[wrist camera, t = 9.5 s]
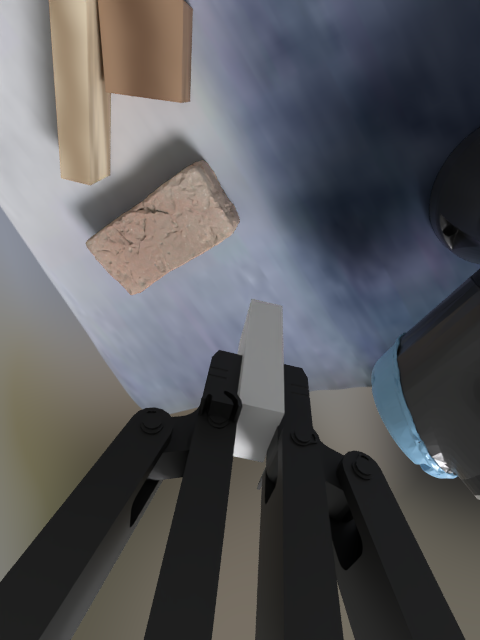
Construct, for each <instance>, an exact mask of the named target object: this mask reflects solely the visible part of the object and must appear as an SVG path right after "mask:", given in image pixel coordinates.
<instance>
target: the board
mask: <svg viewBox="0 0 480 640" xmlns="http://www.w3.org/2000/svg"><path fill="white" fill-rule="evenodd" d="M49 12H50V26H51V41H52V55H53V70H54V84H55V98H56V113H57V127H58V141H59V156H60V170H61V178H63V179H67V180H71V181H75V182H79V183H83V184H87V185H92V184H94V183H96V182H98V181H100V180H102V179H104V178H106V177H108V176H109V175H110V127H111V93H108V92H106V91H105V79H104V67H103V55H102V43H101V31H100V19H99V8H98V0H49Z"/></svg>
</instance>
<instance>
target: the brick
mask: <svg viewBox="0 0 480 640" xmlns="http://www.w3.org/2000/svg"><path fill="white" fill-rule="evenodd" d="M239 222H240V219H239V216H238V213H237V212H236V208H235V206H234V204H232V203H231V201H229V199H228V197H227V196H226V194H225V193H224V190H223V189H222V188H221V187H220V183H219V181H218V180H217V177H216V175H215V173H214V171H213V170H212V169H211V167H210V166H209V164H208V163H207V162H205V161H204V160H201V161H199V162H195V163H193V164H192V165H190V166H188V167H186V168H185V169H183V170H182V171H181V172H179V173H178V174H177V175H175V176H174V177H173V178H171V179H170V180H168V181H167V182H165V183H164V184H162V185H161V186H160V187H159V188H157V189H156V190H155V191H154V192H153V193H151V194H149V195H148V197H147V198H146V199H145V200H143V201H142V202H140V203H139V204H138V205H136V206H134V207H133V208H131V209H130V210H129V211H127V212H125V213H123V214H122V215H121V216H119V217H118V218H117V219H115V220H114V221H113V222H111V223H110V224H108V225H107V226H106V227H104V228H103V229H102V230H100V231H99V232H98V233H96V234H95V235H93V236H92V237H91V238H90V239H88V240H87V242H86V246H87V248H88V249H89V250H90V252H91V253H92V254H93V255H94V256H95V259H96V260H97V261H98V262H99V263H100V264H101V265H102V266H103V267H104V268H105V269H106V271H107V272H108V273H109V274H110V275H111V276H112V277H113V278H114V279H116V280H117V281H118V282H119V283H120V284H121V285H122V286H123V287H124V288H125V289H126V290H127V292H128V293H129V294H130V295H134V294H137V293H141V292H142V291H144V290H145V289H146V288H148V287H149V286H150V285H151V284H153V283H154V282H156V281H157V280H159V279H160V278H161V277H163V276H164V275H165V274H167V273H168V272H170V271H172V270H174V269H176V268H178V267H180V266H182V265H183V264H185V263H187V262H188V261H190V260H192V259H194V258H195V257H197V256H199V255H201V254H203V253H204V252H205V251H207V250H209V249H211V248H212V247H214V246H215V245H218V244H219V243H221V242H222V241H223V240H224V239H226V238H228V237H229V236H230V235H231V234H233V233H234V231H235V230H236V227H237V225H238V224H239Z"/></svg>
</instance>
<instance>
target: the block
mask: <svg viewBox="0 0 480 640" xmlns="http://www.w3.org/2000/svg"><path fill="white" fill-rule="evenodd" d="M98 8H99V19H100V31H101V43H102V55H103V67H104V79H105V91H106V92H108V93H115V94H122V95H129V96H137V97H144V98H151V99H158V100H165V101H172V102H180V103H183V102H190V86H191V51H192V16H193V9H192V8H191V7H190V6H189V5H188V4H187V3H186V2H185V1H184V0H98Z"/></svg>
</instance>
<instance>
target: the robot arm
mask: <svg viewBox="0 0 480 640" xmlns="http://www.w3.org/2000/svg"><path fill="white" fill-rule="evenodd" d="M429 214H430V221H431V225H432V228H433V230H434V232H435V234H436V236H437V237H438V239H439V240H440V241H441V242H442V243H443V244H444V245H445V246H446V247H447V248H448V249H449V250H450V251H451V252H453V253H454V254H455V255H457V256H459V257H460V258H462V259H464V260H467V261H469V262H472V263H476V264H480V127H479V128H478V129H477V130H475V131H474V132H473V133H471V134H470V135H469V136H468V137H467V138H466V139H464V140H463V141H462V142H461V143H460V144H459V145H458V146H457V148H456V149H455V150H454V151H453V152H452V153H451V155H450V156H449V157H448V159H447V160H446V161H445V163H444V165H443V166H442V168H441V170H440V172H439V173H438V176H437V178H436V180H435V182H434V185H433V188H432V192H431V196H430V204H429ZM371 382H372V386H373V387H372V392H373V397H374V401H375V404H376V407H377V409H378V412H379V414H380V416H381V418H382V420H383V422H384V424H385V426H386V428H387V429H388V431H389V433H390V434H391V436H392V438H393V439H394V440H395V442H396V443H397V445H398V446H399V447H400V448H401V450H402V451H403V452H404V453H405V454H406V455H407V456H408V458H410V459H411V460H412V461H413V462H414V463H415V464H420V466H421V467H422V469H423V471H425V472H426V473H428V474H430V475H432V476H434V477H437V478H455V477H457V476H459V477H460V478H461V480H462V481H463V482H464V483H465V484H466V486H467V487H468V488H469V489H470V491H471V492H472V493H473V494H474V495H475V497H476V498H478V499H479V500H480V269H479V270H478V271H477V272H476V273H474V274H473V275H472V276H471V277H469V278H468V279H467V280H466V281H465V282H464V283H463V284H462V285H461V286H460V287H458V288H457V289H456V290H455V291H454V292H453V293H452V294H450V295H449V296H448V297H447V298H446V299H445V300H444V301H442V302H441V303H440V304H439V305H438V306H437V307H436V308H434V309H433V310H432V311H431V312H430V313H429V314H428V315H426V316H425V317H424V318H423V319H422V320H421V321H420V322H418V323H417V324H416V325H415V326H414V327H413V328H412V329H410V330H409V331H408V332H407V333H403V334H401V335H400V336H399V337H398V338H397V340H396V342H395V344H394V345H393V346H392V347H391V348H390V349H389V350H388V351H387V352H386V353H385V354H384V355H383V356H382V357H381V358H380V359H379V360H378V361H377V362H376V364H375V366H374V368H373V371H372V380H371ZM308 388H309V387H308V378H307V376H306V374H305V373H304V371H303V369H302V368H299V367H294V366H290V365H286V364H284V362H283V313H282V306H280V305H276V304H272V303H267V302H263V301H259V300H255V299H251V303H250V307H249V310H248V314H247V317H246V321H245V325H244V328H243V332H242V335H241V339H240V343H239V349H238V354H234V353H230V352H225V351H221V350H219V351H218V352H217V353H216V354H215V355H214V356H213V357H212V360H211V364H210V368H209V372H208V376H207V380H206V384H205V388H204V392H203V396H202V399H201V403H200V406H199V407H198V409H197V410H196V411H194V412H193V413H191V414H189V415H186V416H180V417H171V416H170V415H169V413H167V412H166V411H164V410H163V409H159V408H145V409H143V410H140V411H138V412H137V413H136V414H135V415H134V416H133V417H132V418H131V419H130V421H129V422H128V423H127V424H126V426H125V427H124V428H123V429H122V431H121V432H120V433H119V434H118V436H117V437H116V438H115V439H114V441H113V442H112V443H111V444H110V446H109V447H108V448H107V449H106V451H105V452H104V453H103V454H102V456H101V457H100V458H99V459H98V461H97V462H96V463H95V464H94V466H93V467H92V468H91V469H90V471H89V472H88V473H87V474H86V476H85V477H84V478H83V479H82V481H81V482H80V483H79V484H78V486H77V487H76V488H75V489H74V491H73V492H72V493H71V494H70V496H69V497H68V498H67V499H66V501H65V502H64V503H63V504H62V506H61V507H60V508H59V510H58V511H57V512H56V513H55V514H54V516H53V517H52V518H51V519H50V521H49V522H48V523H47V524H46V526H45V527H44V528H43V529H42V531H41V532H40V533H39V534H38V536H37V537H36V538H35V539H34V541H33V542H32V543H31V545H30V546H29V547H28V548H27V549H26V551H25V552H24V553H23V554H22V556H21V557H20V558H19V559H18V561H17V562H16V563H15V564H14V566H13V567H12V568H11V569H10V571H9V572H8V573H7V574H6V576H5V577H4V578H3V579H2V581H1V582H0V640H71V638H72V636H73V635H74V633H75V631H76V630H77V628H78V626H79V624H80V623H81V621H82V619H83V618H84V616H85V614H86V612H87V611H88V609H89V607H90V605H91V604H92V602H93V600H94V598H95V597H96V595H97V593H98V592H99V590H100V588H101V586H102V585H103V583H104V581H105V579H106V578H107V576H108V574H109V572H110V571H111V569H112V567H113V565H114V564H115V562H116V560H117V559H118V557H119V555H120V554H121V552H122V550H123V548H124V547H125V545H126V543H127V542H128V540H129V538H130V536H131V535H132V533H133V531H134V529H135V528H136V526H137V524H138V522H139V521H140V519H141V517H142V516H143V514H144V512H145V510H146V509H147V507H148V505H149V503H150V502H151V500H152V498H153V496H154V495H155V493H156V491H157V490H158V488H159V486H160V484H161V483H162V481H163V479H171V478H179V477H183V479H182V483H181V487H180V491H179V495H178V499H177V504H176V508H175V512H174V516H173V520H172V525H171V529H170V533H169V537H168V541H167V545H166V549H165V553H164V558H163V562H162V566H161V570H160V575H159V578H158V583H157V587H156V591H155V595H154V599H153V604H152V607H151V612H150V616H149V620H148V624H147V629H146V632H145V637H144V640H211V639H212V631H213V622H214V614H215V605H216V597H217V588H218V580H219V571H220V563H221V554H222V546H223V538H224V529H225V520H226V512H227V503H228V495H229V487H230V478H231V470H232V462H233V456H235V457H241V458H245V459H249V460H254V461H259V462H263V461H264V459H265V456H266V455H267V457H266V468H265V470H264V472H263V474H262V476H261V479H260V481H259V483H258V487H257V489H260V488H261V486H262V495H261V518H260V519H261V520H260V542H259V565H258V588H257V611H256V634H255V640H344V639H343V631H342V622H341V615H340V605H339V597H338V588H337V582H338V585H339V589H340V592H341V596H342V598H343V602H344V605H345V608H346V612H347V615H348V618H349V622H350V625H351V628H352V631H353V635H354V638H355V640H465V638H464V636H463V634H462V632H461V630H460V628H459V626H458V624H457V622H456V620H455V618H454V616H453V614H452V612H451V610H450V608H449V606H448V604H447V602H446V600H445V598H444V596H443V594H442V592H441V590H440V587H439V586H438V583H437V581H436V580H435V577H434V576H433V574H432V571H431V569H430V567H429V565H428V563H427V561H426V559H425V557H424V555H423V553H422V551H421V549H420V547H419V545H418V543H417V541H416V539H415V537H414V535H413V533H412V531H411V529H410V527H409V525H408V523H407V521H406V519H405V517H404V515H403V513H402V511H401V509H400V507H399V505H398V503H397V501H396V499H395V497H394V495H393V493H392V491H391V489H390V487H389V485H388V483H387V481H386V479H385V477H384V475H383V473H382V471H381V469H380V467H379V466H378V464H377V463H376V462H375V461H374V460H373V459H372V458H371V457H370V456H368V455H366V454H364V453H362V452H359V451H351V452H348V453H346V454H345V455H342V454H340V453H338V452H336V451H334V450H332V449H330V448H329V447H327V446H326V445H324V444H323V443H322V442H321V441H320V439H319V436H318V434H317V433H316V432H315V430H314V429H313V426H312V416H311V406H310V398H309V390H308Z"/></svg>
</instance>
